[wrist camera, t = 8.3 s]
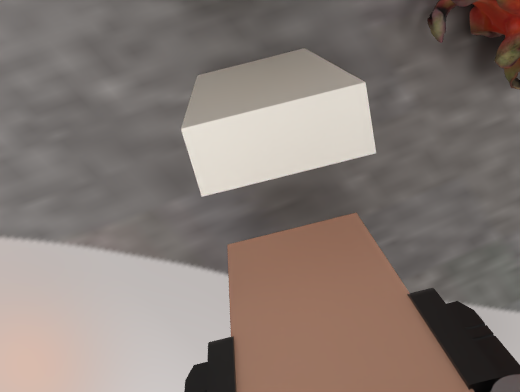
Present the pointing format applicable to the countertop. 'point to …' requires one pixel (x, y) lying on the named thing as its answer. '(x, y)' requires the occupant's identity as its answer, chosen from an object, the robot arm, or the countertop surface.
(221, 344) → the robot arm
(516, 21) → the dragon fruit
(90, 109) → the countertop surface
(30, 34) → the countertop surface
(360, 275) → the terracotta domino
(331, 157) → the ivory domino
